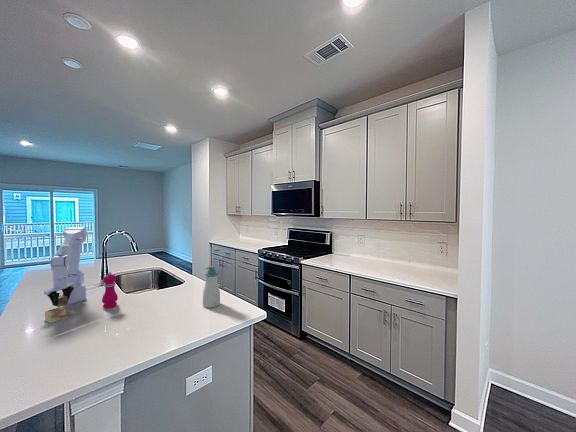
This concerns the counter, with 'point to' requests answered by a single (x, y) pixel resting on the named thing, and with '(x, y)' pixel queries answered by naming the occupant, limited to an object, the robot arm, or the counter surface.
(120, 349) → the counter surface
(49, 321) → the slate mat
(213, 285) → the soap bottle
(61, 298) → the walnut block
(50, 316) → the oak base
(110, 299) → the pepper mill
